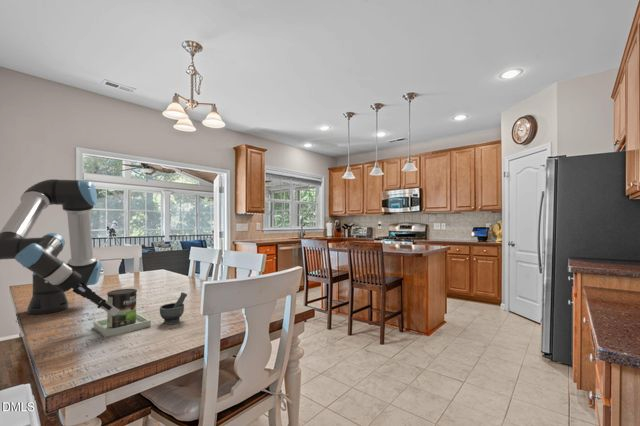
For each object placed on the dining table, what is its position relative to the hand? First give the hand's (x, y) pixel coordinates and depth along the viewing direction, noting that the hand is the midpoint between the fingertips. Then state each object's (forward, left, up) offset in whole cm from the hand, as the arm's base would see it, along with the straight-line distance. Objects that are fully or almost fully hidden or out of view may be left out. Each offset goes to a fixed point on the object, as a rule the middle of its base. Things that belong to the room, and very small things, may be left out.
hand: (111, 309), depth 124 cm
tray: (0, +4, -8) cm, 9 cm away
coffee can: (0, +4, -8) cm, 9 cm away
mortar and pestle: (+9, +21, -8) cm, 24 cm away
